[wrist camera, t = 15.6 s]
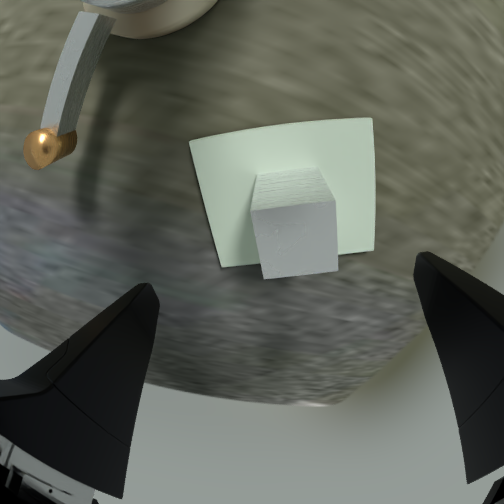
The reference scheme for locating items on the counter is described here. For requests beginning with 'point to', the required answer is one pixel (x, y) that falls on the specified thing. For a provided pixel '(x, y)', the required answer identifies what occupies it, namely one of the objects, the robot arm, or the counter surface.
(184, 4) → the base
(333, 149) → the mat
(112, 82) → the counter surface
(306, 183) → the grey rectangular block
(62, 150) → the crank handle
